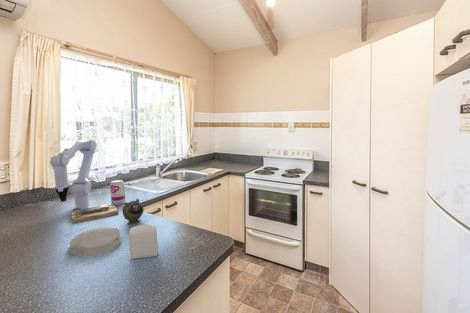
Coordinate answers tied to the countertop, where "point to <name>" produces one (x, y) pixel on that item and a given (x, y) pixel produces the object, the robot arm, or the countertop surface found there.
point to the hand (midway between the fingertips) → (63, 201)
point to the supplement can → (117, 192)
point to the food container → (95, 242)
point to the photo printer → (143, 241)
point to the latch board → (93, 214)
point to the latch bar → (94, 208)
